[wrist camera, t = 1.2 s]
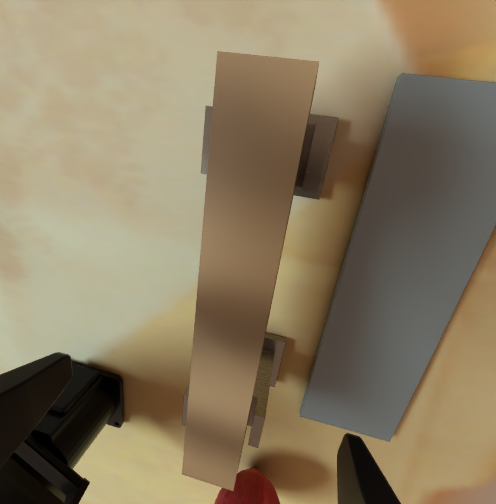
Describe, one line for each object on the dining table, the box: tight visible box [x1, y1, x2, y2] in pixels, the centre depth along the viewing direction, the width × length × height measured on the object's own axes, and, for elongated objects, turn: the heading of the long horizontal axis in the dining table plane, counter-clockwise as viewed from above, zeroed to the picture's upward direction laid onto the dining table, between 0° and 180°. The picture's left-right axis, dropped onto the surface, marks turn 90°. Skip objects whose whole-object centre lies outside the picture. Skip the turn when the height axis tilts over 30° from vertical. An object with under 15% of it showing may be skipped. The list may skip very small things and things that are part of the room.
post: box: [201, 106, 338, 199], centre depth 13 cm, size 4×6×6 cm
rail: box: [182, 51, 319, 491], centre depth 13 cm, size 20×3×3 cm, turn 172°
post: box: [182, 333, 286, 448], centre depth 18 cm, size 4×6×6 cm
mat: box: [300, 73, 496, 442], centre depth 17 cm, size 24×7×1 cm, turn 172°
